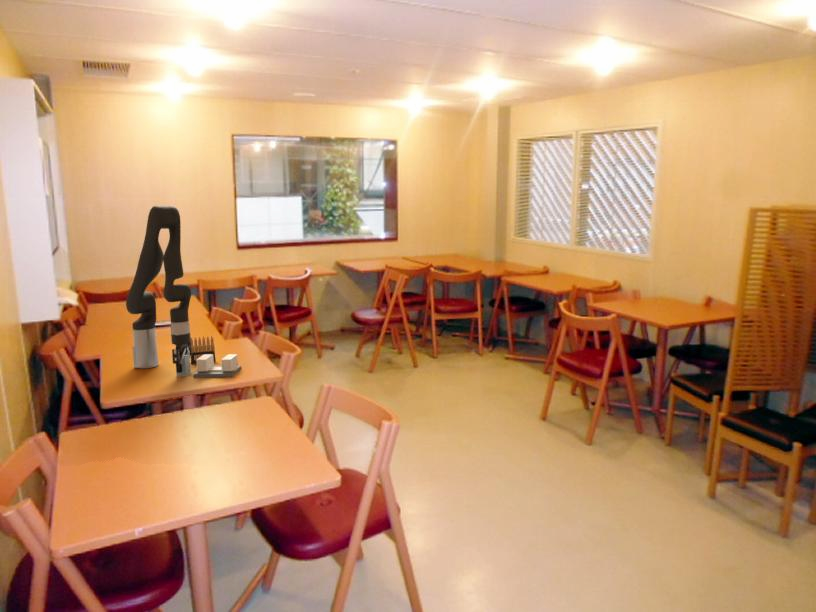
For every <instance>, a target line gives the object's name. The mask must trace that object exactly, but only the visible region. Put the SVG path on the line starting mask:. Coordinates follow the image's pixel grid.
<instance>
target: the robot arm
mask: <svg viewBox="0 0 816 612" xmlns="http://www.w3.org/2000/svg"><path fill="white" fill-rule="evenodd" d="M146 222H147V223H146V229H145V236H144V239H143V244H142V247H141V251H140V255H139V258H138V262H137V266H136V271H135V275H134V278H133V279H132V280H133V281H132V283H131V286H130V289H129V290H128V294H127V295H126V301H125V307H126V310H127V312H128V313H129V314H130V315H131V314H132V315H139V314H140V316H139V317H138V319H135V321H133V322H132V333H133V334H132V335H133V336H132V337H133V346H132V356H133V358H132V359H133V368H136V369H149V368H150V369H151V368H152V369H153V368H155V367H158V366H159V365H160V364H159V354H158V342H157V330H156V323H157V302H156V297H155V296H154V293H152V291H149V290H148V291H146V290H147V287H149V285H150V284H151V283H152V282H153V281H154V280H155V279H156V278H157V277H158V275H159V274H160V272H161V270H162V267H163V268H164V274H165V275H164V276H165V277H164V287H163V298H164V299H165V301H166V302H168V303H176V302H179V304H178V305H177V306H175V307H172V308H170V310H169V317H170V336H171V337H170V338H171V344H172V345H175V348H172V349H171V352H172V353H171V354H172V355H171V357H172V364H173V365H174V364H175V371H176V372H177V373H181V372H182V364H181V363H182V359H183V358H184V355H189V356H190V357H191V356H192V350H191V338H192V337H191V327H190V326H191V325H190V320H189V307H190V301H191V297H192V289H191V287H190V285H188V284H186V283H177V284H174V283H175V281H176V280H179V279H182V278H183V277H184V276H185V275H184V267H183V261H182V255H181V253H182V252H181V239H182V238H181V234H182V233H181V227H182V226H181V224H182V223H181V215H180V211H179V210H178V208H177V207H175V206H171V205H168V206H167V205H155V206H152V207H151V209H150V210H149V213H148V216H147V220H146ZM162 229H165V230H166V229H168V232H169V233H168V234H169V239H168V242H167V245H166V248H165V251H163V249H162V246H161V244H160V241H159V236H160V233H161V230H162ZM176 372H175V373H176ZM177 373H176V374H177Z"/></svg>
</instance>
